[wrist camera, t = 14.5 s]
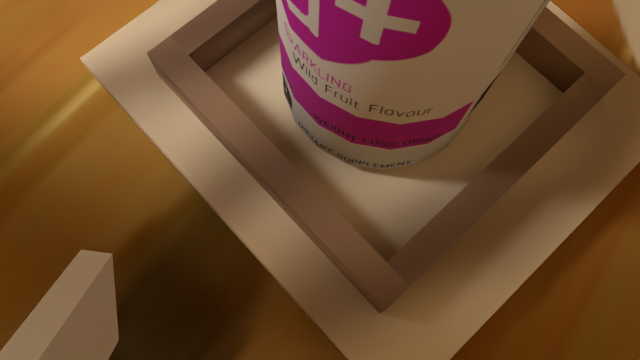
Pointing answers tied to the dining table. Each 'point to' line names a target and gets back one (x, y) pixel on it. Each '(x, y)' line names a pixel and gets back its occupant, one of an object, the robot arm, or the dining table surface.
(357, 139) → the supplement can
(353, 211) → the oak stand
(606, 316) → the dining table surface
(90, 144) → the dining table surface
